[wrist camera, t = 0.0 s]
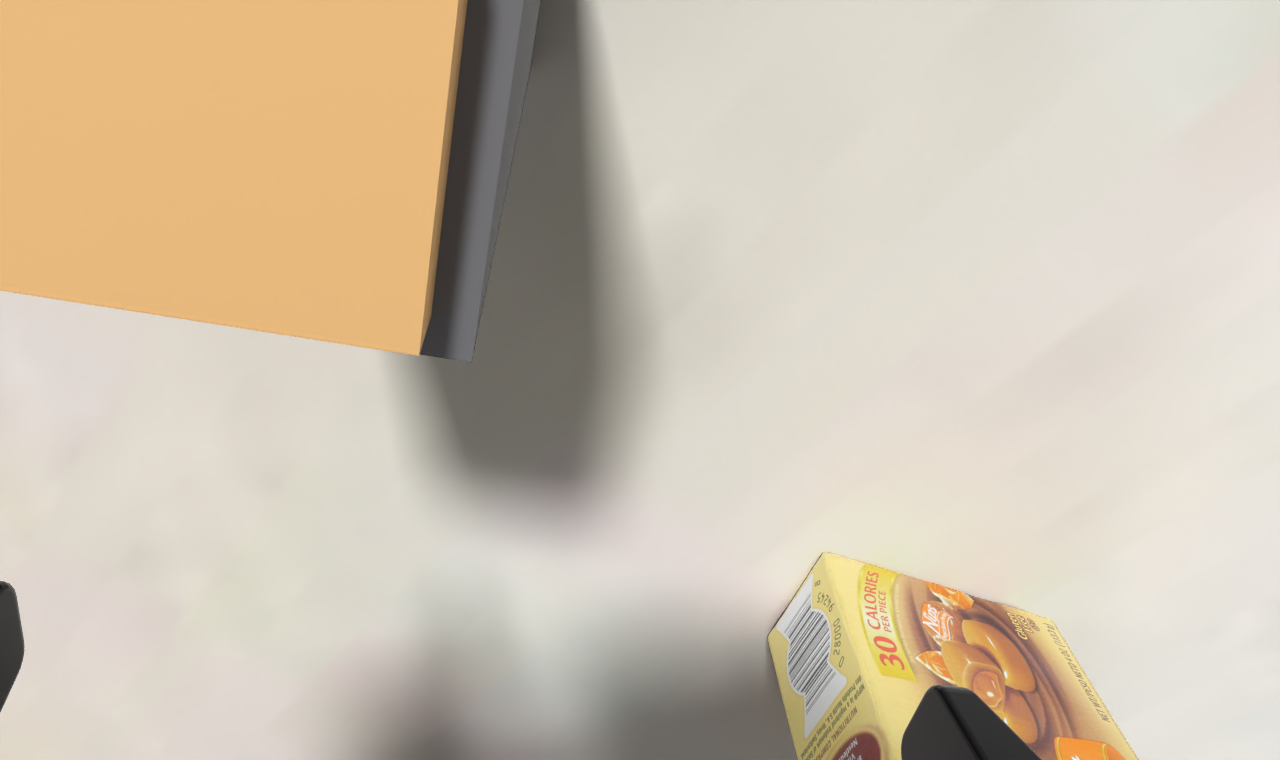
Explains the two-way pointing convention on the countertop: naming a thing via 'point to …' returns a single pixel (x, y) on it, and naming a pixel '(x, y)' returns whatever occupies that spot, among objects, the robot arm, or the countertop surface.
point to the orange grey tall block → (264, 160)
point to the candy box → (925, 667)
